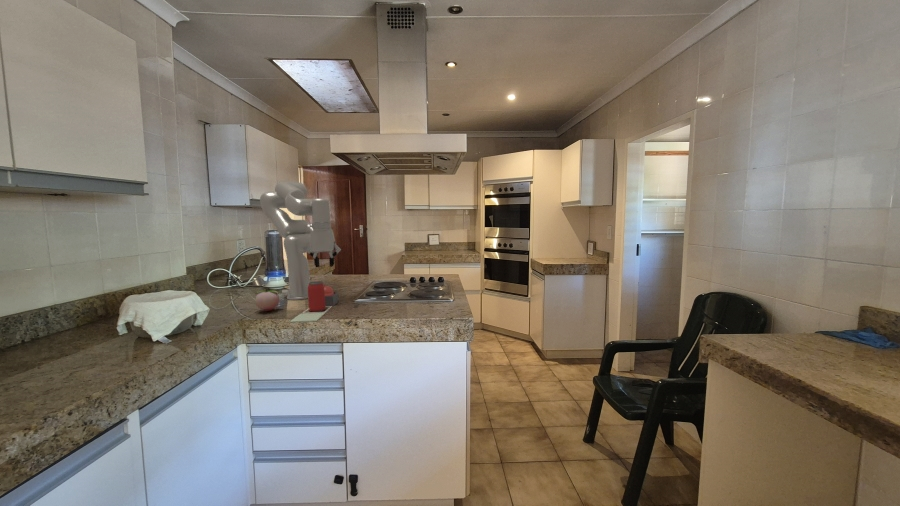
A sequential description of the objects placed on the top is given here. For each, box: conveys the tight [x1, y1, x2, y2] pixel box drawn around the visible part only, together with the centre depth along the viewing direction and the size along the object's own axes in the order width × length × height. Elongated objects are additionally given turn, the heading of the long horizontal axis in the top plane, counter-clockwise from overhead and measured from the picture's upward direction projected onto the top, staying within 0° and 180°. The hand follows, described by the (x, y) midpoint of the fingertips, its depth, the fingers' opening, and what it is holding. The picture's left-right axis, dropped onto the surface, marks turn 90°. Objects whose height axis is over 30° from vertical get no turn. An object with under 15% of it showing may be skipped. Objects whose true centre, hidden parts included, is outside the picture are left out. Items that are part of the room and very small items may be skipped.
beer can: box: [307, 281, 327, 312], centre depth 142 cm, size 7×7×12 cm
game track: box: [289, 291, 339, 323], centre depth 142 cm, size 10×30×4 cm, turn 3°
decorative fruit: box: [254, 287, 281, 312], centre depth 142 cm, size 9×8×10 cm
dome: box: [324, 285, 334, 296], centre depth 152 cm, size 6×6×6 cm
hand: (324, 266), depth 151 cm, fingers open, 5 cm apart
